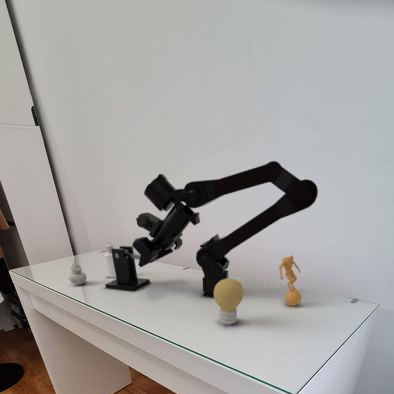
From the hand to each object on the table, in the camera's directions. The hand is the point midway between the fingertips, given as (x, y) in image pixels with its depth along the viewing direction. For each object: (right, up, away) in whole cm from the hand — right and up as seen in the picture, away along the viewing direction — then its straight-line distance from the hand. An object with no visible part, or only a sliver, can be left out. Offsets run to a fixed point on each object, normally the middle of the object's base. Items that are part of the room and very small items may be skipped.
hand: (144, 263), depth 86 cm
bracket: (-7, -5, +6) cm, 11 cm away
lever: (-3, +1, +1) cm, 4 cm away
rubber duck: (-24, -4, +10) cm, 27 cm away
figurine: (+39, -14, -13) cm, 44 cm away
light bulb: (+23, -20, -21) cm, 37 cm away
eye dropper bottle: (-14, 0, +17) cm, 21 cm away
